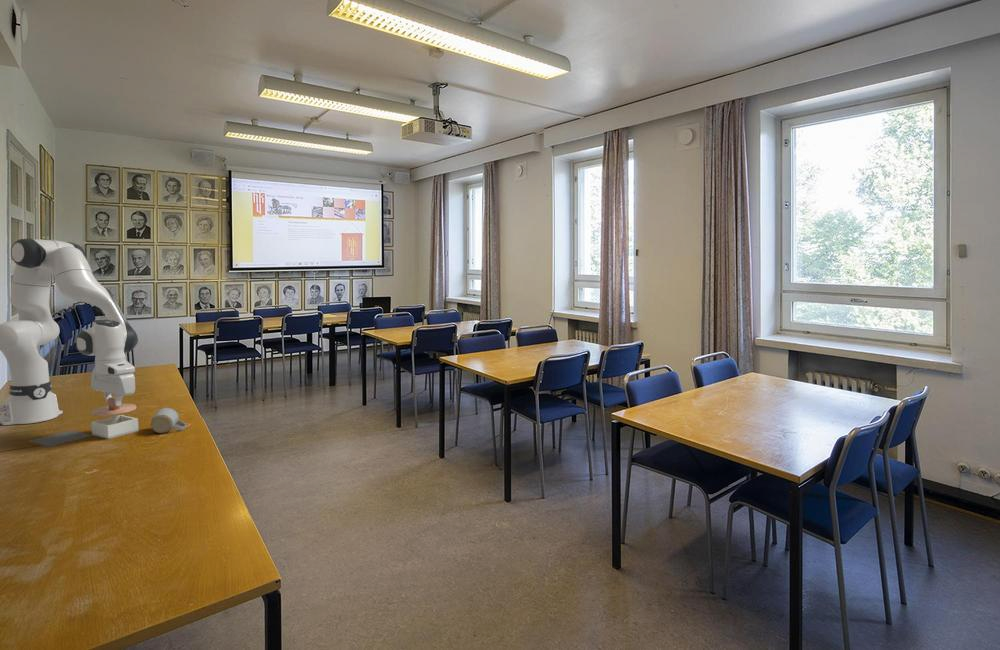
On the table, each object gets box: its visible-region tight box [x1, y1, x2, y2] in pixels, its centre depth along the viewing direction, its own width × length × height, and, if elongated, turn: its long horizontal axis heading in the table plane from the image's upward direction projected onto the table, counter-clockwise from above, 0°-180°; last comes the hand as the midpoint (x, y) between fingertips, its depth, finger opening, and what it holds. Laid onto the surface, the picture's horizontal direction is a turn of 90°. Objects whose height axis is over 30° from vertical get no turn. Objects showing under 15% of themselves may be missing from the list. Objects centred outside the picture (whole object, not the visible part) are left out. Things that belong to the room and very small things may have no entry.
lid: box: [91, 396, 138, 417], centre depth 189 cm, size 13×13×5 cm
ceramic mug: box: [150, 407, 187, 434], centre depth 195 cm, size 11×8×8 cm
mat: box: [28, 430, 93, 448], centre depth 184 cm, size 13×13×1 cm
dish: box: [90, 414, 140, 440], centre depth 190 cm, size 10×10×5 cm
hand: (113, 404), depth 189 cm, fingers closed on lid, 3 cm apart
